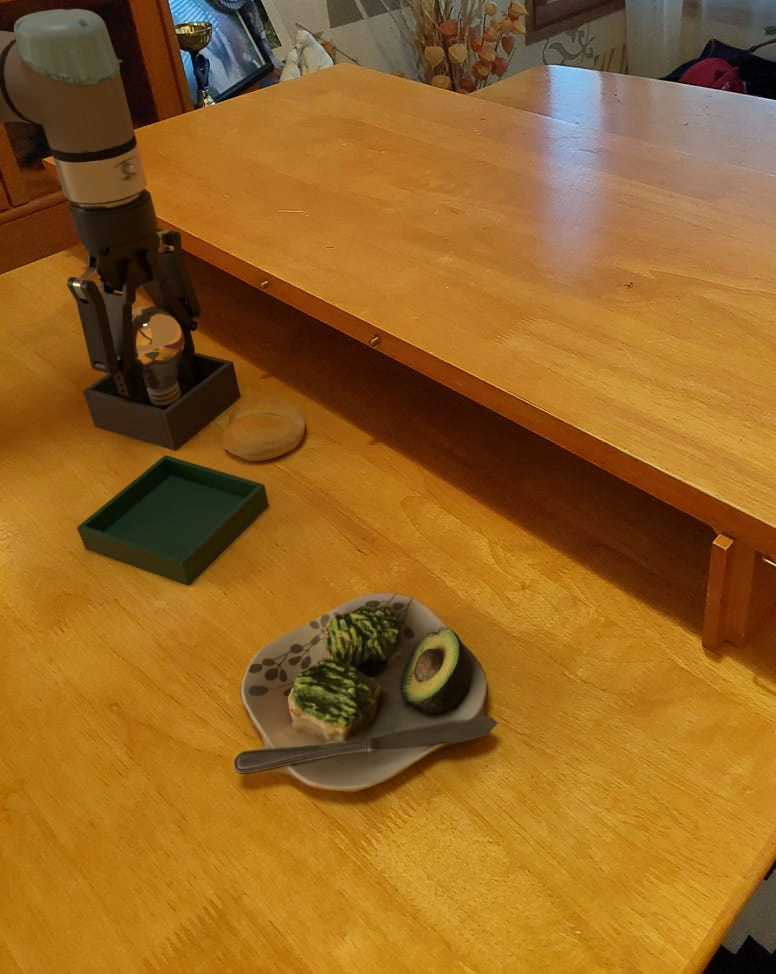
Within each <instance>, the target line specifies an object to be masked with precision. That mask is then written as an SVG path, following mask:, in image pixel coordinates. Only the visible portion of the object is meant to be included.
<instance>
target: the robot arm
mask: <svg viewBox="0 0 776 974" xmlns="http://www.w3.org/2000/svg"><path fill="white" fill-rule="evenodd" d="M13 26H14V27H13V31H7V30H0V125H2V124H6V123H11V122H19V123H25V124H31V125H36V126H42V128H43V130H44V133H45V136H46V139H47V141H48V146H49V150H50V153H51V156H52V159H53V163H54V166H55V169H56V172H57V175H58V180H59V182H60V185H61V189H62V192H63V195H64V197H65V198H66V199H67V200H68V201H70V202H69V204H68V210H69V213H70V216H71V220H72V223H73V227H74V230H75V232H76V237H77V238H78V239H79V241H80V243H82V245H83V246H84V248H85V249H86V253H87V263H86V265H87V269H86V270H85V271H84V272H83V273H82V274H81V275H80V276H79V277H75V276H70V277H69V278H68V279H67V281H66V286H67V288H68V290H69V291H70V293H71V295H72V296H73V299H74V300H75V302H76V306H77V311H78V315H79V320H80V323H81V327H82V332H83V336H84V340H85V346H86V350H87V354H88V358H89V362H90V366H91V369H92V370H93V371H97V372H102V373H105V374H113V376H114V380H115V383H116V386H117V389H118V392H119V394H120V395H121V396H124V397H125V398H126V399H127V400H131V401H134V402H138V403H141V404H145V405H149V406H152V405H151V401H150V398H149V395H148V391H147V388H146V384H145V381H144V378H143V374H142V371H141V368H140V366H139V365H135V364H133V354H132V309H133V305H134V304H135V303H136V300H137V295H136V294H137V293H136V291H137V290H138V288H140V287H141V286H142V288H143V289H144V291H145V292H146V294H147V295H148V297H149V298H150V300H151V301H152V303H153V304H154V306H156V307H159V308H161V309H164V310H166V311H167V312H169V313H170V314H171V315H172V316H173V317H174V318H175V319H176V320H177V321H178V323H179V324H180V326H181V328H182V331H183V333H184V342H185V343H184V350H183V353H182V356H181V358H180V361H179V364H178V379H177V381H178V383H182V384H186V385H189V386H193V387H195V386H197V385H198V384H199V383H200V380H199V376H198V372H197V368H196V364H195V361H194V357H193V353H196V352H195V351H196V348H195V347H196V346H195V344H194V340H193V336H192V332H196V330H197V329H198V322H197V321H195V320H194V318H199V317H200V316H201V313H202V308H201V305H200V303H199V300H198V296H197V294H196V291H195V287H194V285H193V282H192V279H191V276H190V272H189V269H188V267H187V263H186V260H185V257H184V255H183V247H182V245H183V244H182V235H181V233H180V232H179V231H176V230H171V229H166V228H159V227H158V226H159V221H158V218H157V214H156V213H157V212H156V209H155V206H154V202H153V198H152V194H151V192H150V191H149V190H147V189H146V187H147V185H148V180H147V176H146V171H145V168H144V164H143V161H142V157H141V152H140V149H139V145H138V141H137V136H136V133H135V128H134V125H133V121H132V116H131V112H130V109H129V104H128V100H127V95H126V92H125V87H124V84H123V79H122V75H121V72H120V71H121V70H120V68H121V66H120V61H119V59H118V58H117V55H116V53H115V50H114V47H113V43H112V41H111V37H110V34H109V32H108V28H107V25H106V23H105V21H104V20H103V18H102V17H101V16H100V15H99V14H97V13H95V12H94V11H91V10H87V9H81V8H71V9H64V8H57V9H49V10H43V11H42V10H41V11H37V12H36V11H35V12H33V13H32V12H31V13H29V14H25V15H23V16H21V17H19V18H18V19H17V20H16V21H15V23H14V25H13Z"/></svg>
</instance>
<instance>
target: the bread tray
mask: <svg viewBox="0 0 776 974" xmlns="http://www.w3.org/2000/svg"><path fill="white" fill-rule="evenodd" d="M269 506H270V505H269V500H268V495H267V489H266V486H265V484H264V483H260V482H257V481H254V480H251V479H247V478H244V477H240V476H237V475H234V474H231V473H227V472H224V471H221V470H217V469H213V468H210V467H207V466H204V465H200V464H197V463H193V462H191V461H187V460H183V459H180V458H177V457H174V456H170V455H167V454H164V455H163V456H162V457H161V458H160V459H158V460H157V461H156V462H155V463H154V464H152V465H151V466H150V467H149V468H147V469H146V470H145V471H144V472H143V473H141V474H140V475H139V476H138V477H136V478H135V479H134V480H132V481H131V482H130V483H129V484H127V486H125V487H124V488H123V489H121V491H119V492H118V493H117V494H115V495H114V496H113V497H112V498H111V499H110V500H107V502H105V504H103V505H102V506H100V508H99V509H97V510H96V511H95V512H93V514H91V515H90V516H89V517H87V518H86V519H85V520H84V521H83V522H81V523H80V524H79V525H78V526H77V527H76V529H77V532H78V534H79V537H80V540H81V541H82V542H81V543H82V544H83V547H84V549H85V550H88V551H91V552H93V553H97V554H99V555H103V556H105V557H108V558H111V559H114V560H117V561H118V562H122V563H124V564H127V565H131V566H133V567H136V568H138V569H142V570H144V571H147V572H150V573H153V574H155V575H158V576H161V577H164V578H167V579H170V580H172V581H175V582H177V583H181V584H183V585H186V586H190V584H191V583H193V582H194V581H195V580H196V579H197V577H198V576H199V575H201V574H202V573H203V572H204V571H205V570H206V569H207V568H208V567H209V566H210V565H211V564H212V563H213V561H215V560H216V559H217V558H218V557H219V556H220V555H221V554H222V553H223V552H224V551H225V550H226V549H227V548H228V547H229V546H230V545H231V544H232V543H233V542H234V541H235V540H236V539H237V538H238V537H239V536H240V535H241V534H242V533H243V532H244V531H245V530H246V529H247V528H248V527H249V526H250V525H251V524H252V523H253V522H254V521H255V520H256V519H257V518H258V517H259V516H260V515H261V514H262V513H263V512H264V511H265V510H266V509H267V508H268V507H269Z"/></svg>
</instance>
